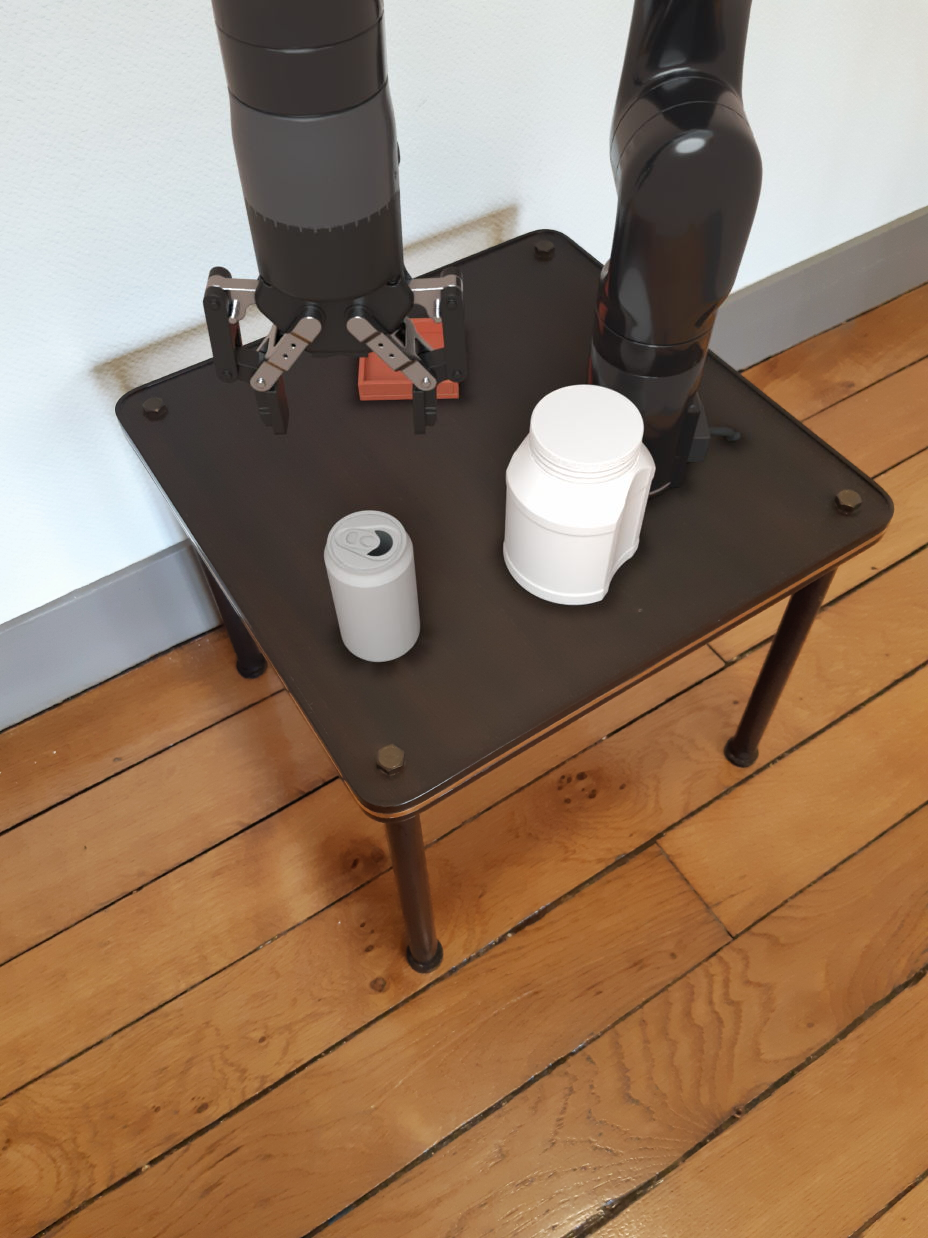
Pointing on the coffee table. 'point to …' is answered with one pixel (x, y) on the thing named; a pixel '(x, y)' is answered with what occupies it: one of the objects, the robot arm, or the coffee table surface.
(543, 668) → the coffee table surface
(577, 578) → the jar
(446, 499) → the coffee table surface
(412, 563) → the beverage can
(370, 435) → the coffee table surface
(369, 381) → the red tray
